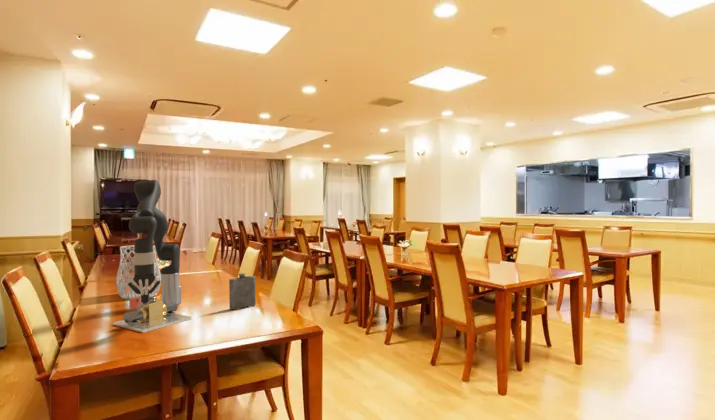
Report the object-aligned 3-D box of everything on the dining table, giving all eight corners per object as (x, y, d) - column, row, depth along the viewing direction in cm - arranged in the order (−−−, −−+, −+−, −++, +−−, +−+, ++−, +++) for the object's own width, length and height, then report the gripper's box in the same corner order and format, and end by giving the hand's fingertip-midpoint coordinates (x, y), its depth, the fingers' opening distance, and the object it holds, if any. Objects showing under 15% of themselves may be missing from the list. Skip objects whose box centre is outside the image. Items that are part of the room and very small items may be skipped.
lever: (149, 299, 197) (149, 289, 197) (157, 299, 197) (157, 288, 197) (128, 311, 176) (128, 299, 175) (137, 311, 176) (137, 298, 176)
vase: (127, 291, 265) (126, 244, 264) (166, 290, 267) (166, 243, 267) (108, 300, 241) (107, 248, 240) (152, 299, 243) (151, 247, 243)
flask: (228, 308, 219) (227, 274, 219) (253, 304, 228) (253, 271, 228) (230, 310, 216) (230, 275, 216) (256, 305, 225) (256, 272, 225)
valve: (162, 313, 211) (161, 294, 211) (191, 319, 199) (191, 299, 199) (113, 324, 190) (113, 303, 190) (143, 332, 178) (142, 310, 178)
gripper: (162, 261, 184) (163, 300, 184) (129, 262, 181) (130, 302, 181) (159, 263, 177) (160, 304, 177) (124, 265, 173) (125, 306, 174)
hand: (145, 303), depth 179 cm, fingers closed
